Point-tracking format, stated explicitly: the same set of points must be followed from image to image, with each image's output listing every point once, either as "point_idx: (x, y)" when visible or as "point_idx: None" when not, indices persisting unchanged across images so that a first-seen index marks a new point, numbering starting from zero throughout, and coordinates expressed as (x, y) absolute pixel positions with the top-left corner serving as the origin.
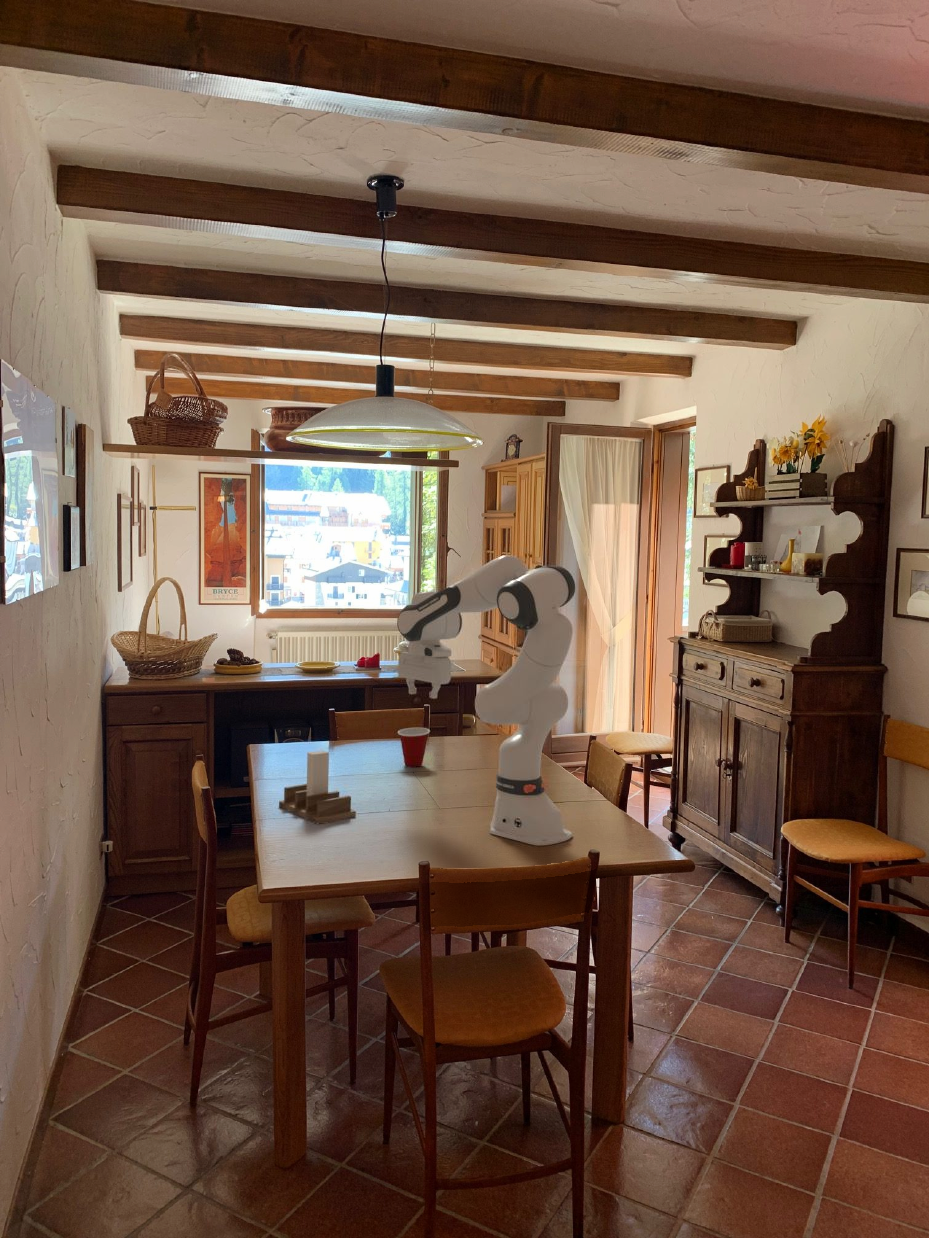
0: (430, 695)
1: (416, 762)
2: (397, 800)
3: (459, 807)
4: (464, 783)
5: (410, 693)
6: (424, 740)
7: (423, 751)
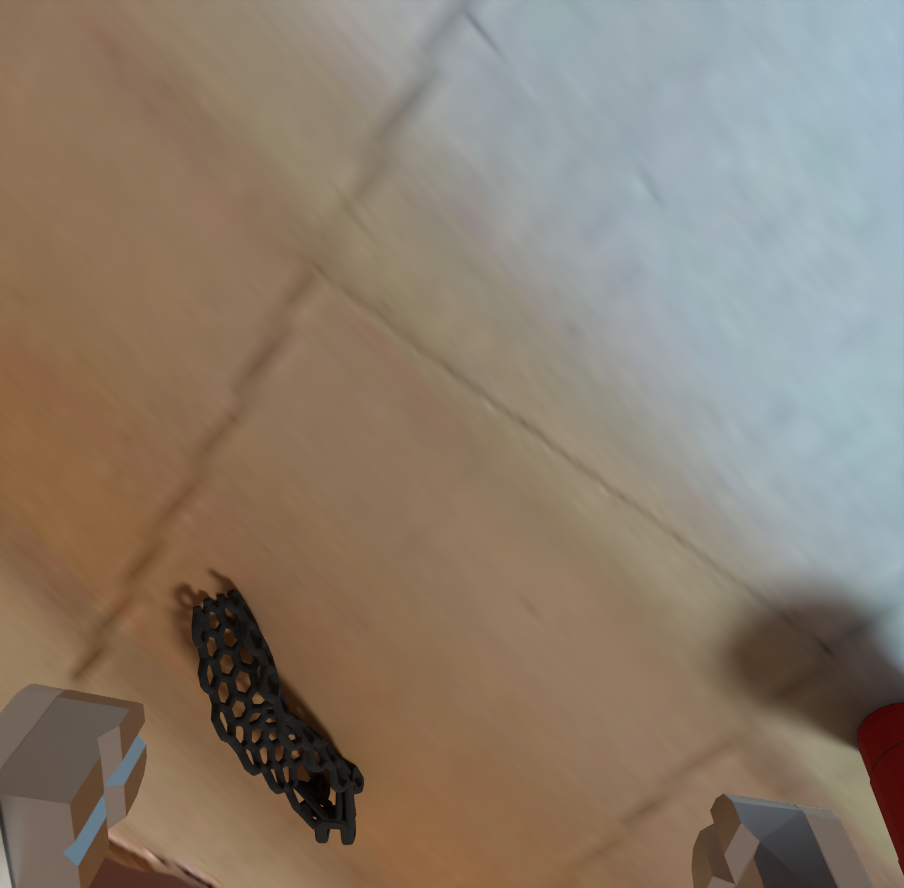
0: (70, 726)
1: (876, 732)
2: (573, 218)
3: (267, 350)
4: (522, 650)
5: (780, 803)
6: (902, 852)
7: (879, 800)
